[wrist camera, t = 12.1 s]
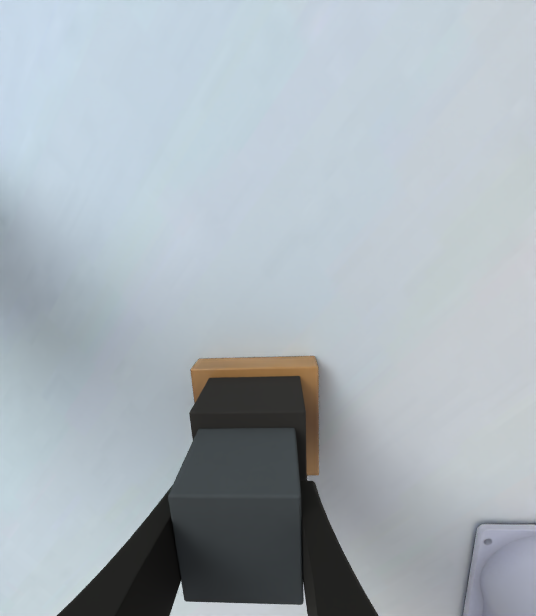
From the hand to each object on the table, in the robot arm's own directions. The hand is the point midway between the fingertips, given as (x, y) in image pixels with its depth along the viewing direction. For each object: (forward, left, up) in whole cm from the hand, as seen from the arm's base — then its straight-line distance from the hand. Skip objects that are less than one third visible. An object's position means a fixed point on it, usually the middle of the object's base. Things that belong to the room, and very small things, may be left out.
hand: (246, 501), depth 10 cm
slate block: (0, 0, -1) cm, 1 cm away
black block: (0, 0, -5) cm, 5 cm away
